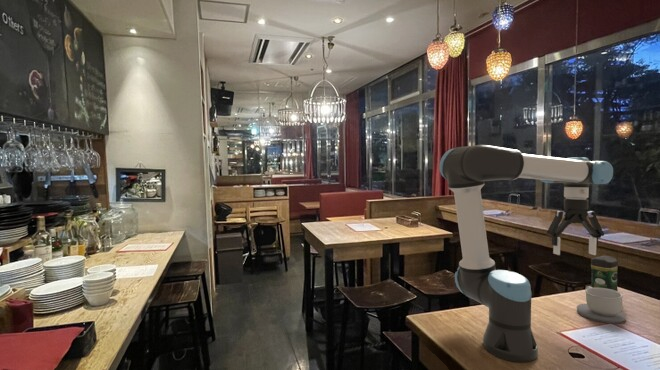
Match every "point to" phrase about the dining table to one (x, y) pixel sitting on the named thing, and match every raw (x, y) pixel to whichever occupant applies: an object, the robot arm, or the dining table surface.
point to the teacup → (604, 301)
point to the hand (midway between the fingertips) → (574, 254)
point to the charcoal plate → (589, 314)
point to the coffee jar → (604, 272)
